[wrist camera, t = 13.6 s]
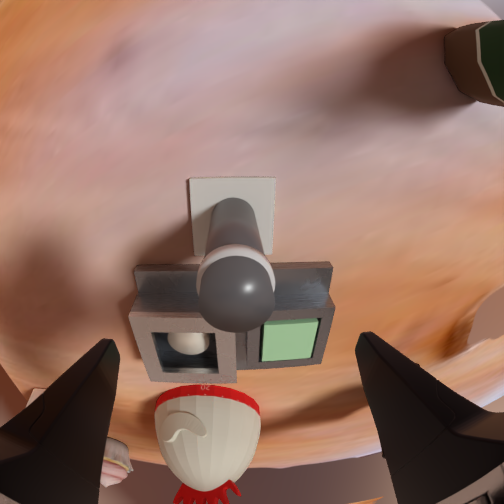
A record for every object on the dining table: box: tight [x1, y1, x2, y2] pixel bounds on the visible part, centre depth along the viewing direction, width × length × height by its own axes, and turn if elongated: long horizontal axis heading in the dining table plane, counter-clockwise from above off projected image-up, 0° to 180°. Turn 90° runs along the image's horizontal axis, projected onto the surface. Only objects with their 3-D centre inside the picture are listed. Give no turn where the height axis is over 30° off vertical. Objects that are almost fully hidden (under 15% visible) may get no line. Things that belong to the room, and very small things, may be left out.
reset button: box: [168, 333, 210, 355], centre depth 24 cm, size 4×4×1 cm
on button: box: [260, 318, 318, 361], centre depth 24 cm, size 4×4×2 cm
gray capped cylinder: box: [196, 197, 275, 333], centre depth 16 cm, size 4×4×10 cm
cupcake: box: [100, 437, 133, 487], centre depth 34 cm, size 9×9×10 cm
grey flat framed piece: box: [128, 262, 335, 383], centre depth 24 cm, size 12×16×4 cm
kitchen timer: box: [155, 385, 261, 504], centre depth 26 cm, size 14×14×15 cm
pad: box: [189, 177, 276, 256], centre depth 21 cm, size 6×6×1 cm
